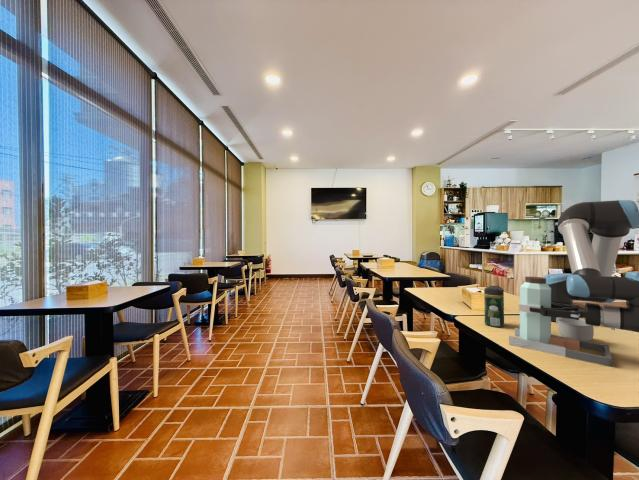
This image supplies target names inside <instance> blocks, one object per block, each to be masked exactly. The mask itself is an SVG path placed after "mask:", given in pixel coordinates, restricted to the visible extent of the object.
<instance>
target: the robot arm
mask: <svg viewBox="0 0 639 480" xmlns="http://www.w3.org/2000/svg"><path fill="white" fill-rule="evenodd" d="M638 228H639V207H638V204H637V203H636V202H635V201H633V200H632V199H617V200H603V201H602V200H601V201H599V200H598V201H583V202H578V203H575V204H573V205H570V206H569V207H568V208H566V209H565V210H564V211H563V212H562V213H561V214H560V216H559V218H558V220H557V231H558V233H560V234H561V235H562V237H563V241H564V245H565V249H566V254H567V259H568V262H569V267H570V271H571V273H566V272H565V273H561V272H560V273H549V274H545V275H544V276H543V277H542V278H546V283H547V284H548V285H549V286H550V287H551V308H543V306H542V305H541V306H533V305H525V304H520V303H519V304H518V312H520V311H522V312H529V313H536V314H542V316H549V317H551V322H554V323H556V318H557V317H558V318H568V319H575V320H579V319H584V320H585V323H586V324H587V325H593V327H600V326H602V327H603V328H609V329H611V330H612V331H615V330H624V331H629V332H636V333H639V271H628V272H626V273H625V275H624V276H613V272H614V269H615V266H616V265H615V264H616V261H617V258H618V254H619V249H620V247H621V242H622V239H623V238H624V237H626V236H628V235H629V233H630V230H635V229H638ZM589 230H590V232H591V233H592V234H593V237H592V240H591V239H590V235H589V232H588V231H589ZM617 300H618V301H626V303H625V305H626V306H618V305H609V304H610V303H611V304H612V303H613V302H615V301H617ZM573 301H580V302H581V301H582V302H586V303H585V304H584V308H582V307H580V306H579V305H573V303H574V302H573ZM598 303H600V304H602V305H600V304H598ZM606 303H607V304H606Z"/></svg>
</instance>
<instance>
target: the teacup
mask: <svg viewBox="0 0 639 480" xmlns="http://www.w3.org/2000/svg"><path fill="white" fill-rule="evenodd" d="M555 323H556V324H557V326H558V333H559V336H564V337H567V338H570V339H576V340H581V341H587V342H591V341H592V340H593V338H594V334H595V332H594V325H587V324H586V323H585V318H579V320H575V319H568V318H558V317H557V318H556V322H555Z"/></svg>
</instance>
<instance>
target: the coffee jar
mask: <svg viewBox="0 0 639 480" xmlns="http://www.w3.org/2000/svg"><path fill="white" fill-rule="evenodd" d="M504 294H505V293H504V288H502V287H501V286H500V285H489V286H486V287H485V288H484V295H483V297H484V299H483V300H484V301H483V302H484V324H485V325H486V326H489V327H492V328H497V327H498V328H502V327H503V326H504V325H505V305H504V304H505V300H504V299H505V298H504V297H505V296H504Z"/></svg>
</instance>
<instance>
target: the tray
mask: <svg viewBox="0 0 639 480" xmlns="http://www.w3.org/2000/svg"><path fill="white" fill-rule="evenodd" d="M579 349H585V350H590V351H596V352H601V353H603V355H604V356H603V355H599V354H594V353H589V352H583V351H580V350H579V351H574V350H569V349H565V356H564V357H566V358H569V359H573V360H578V361H584V362H588V363H593V364H598V365H601V366H602V365H603V366H606V367H613V357H612V354H611V350H610V346H609V345H608V344H604V343H603V344H602V343H597V342H592V341H588V342H587V341H581V340H579Z"/></svg>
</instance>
